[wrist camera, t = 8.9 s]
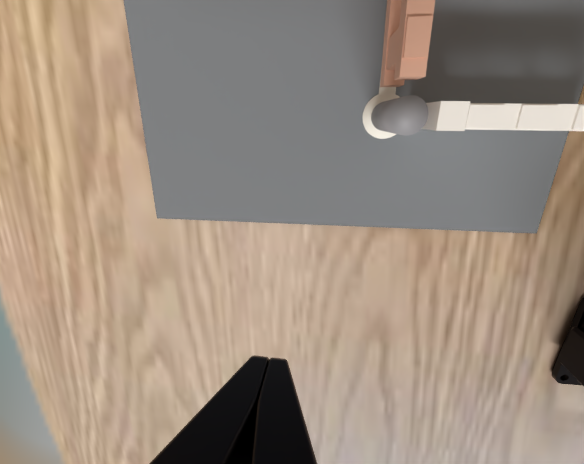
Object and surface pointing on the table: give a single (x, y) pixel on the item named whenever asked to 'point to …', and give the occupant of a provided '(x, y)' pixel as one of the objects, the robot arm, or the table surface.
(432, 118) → the fence fixed
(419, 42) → the fence gate
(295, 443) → the robot arm
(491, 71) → the mat
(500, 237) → the table surface
